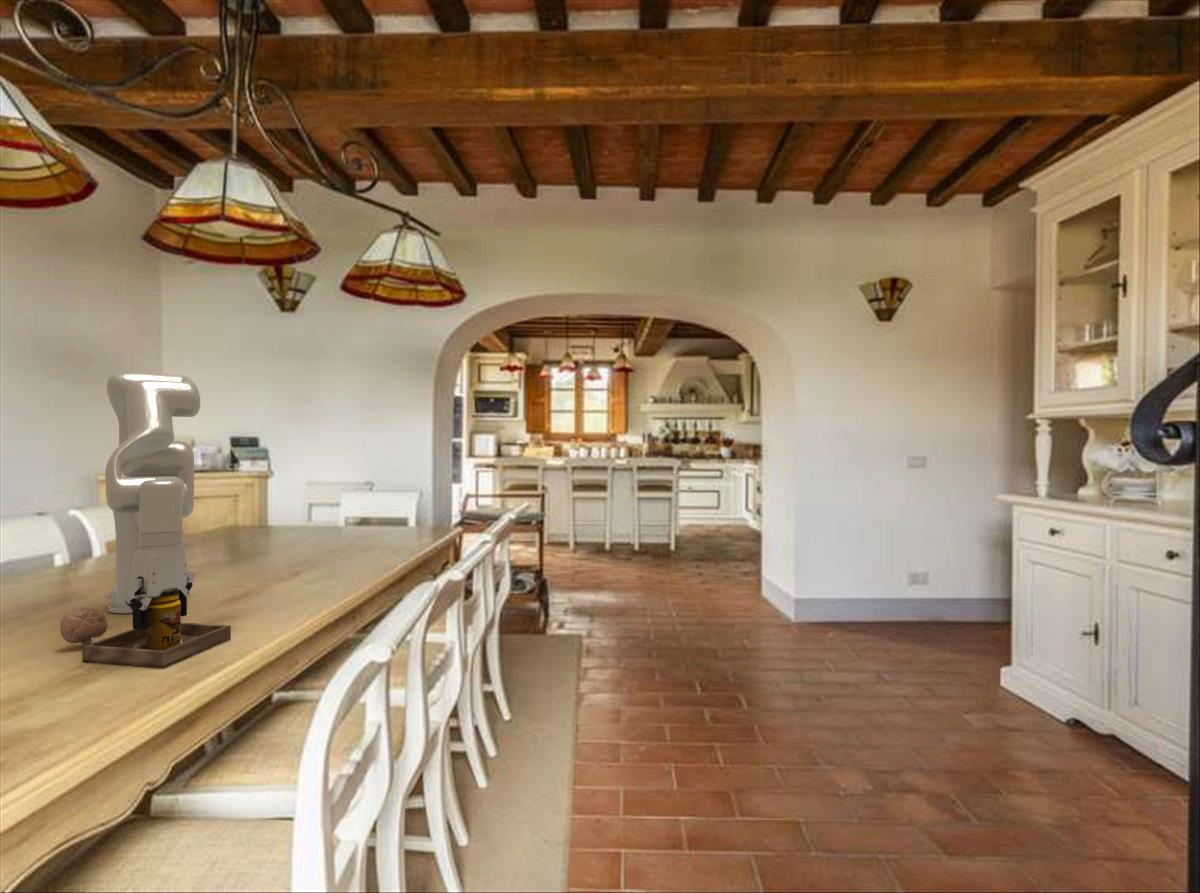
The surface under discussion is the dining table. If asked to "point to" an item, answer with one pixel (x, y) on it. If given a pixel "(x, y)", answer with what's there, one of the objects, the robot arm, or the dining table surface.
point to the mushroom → (83, 625)
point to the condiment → (163, 622)
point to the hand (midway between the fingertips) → (160, 622)
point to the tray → (124, 652)
